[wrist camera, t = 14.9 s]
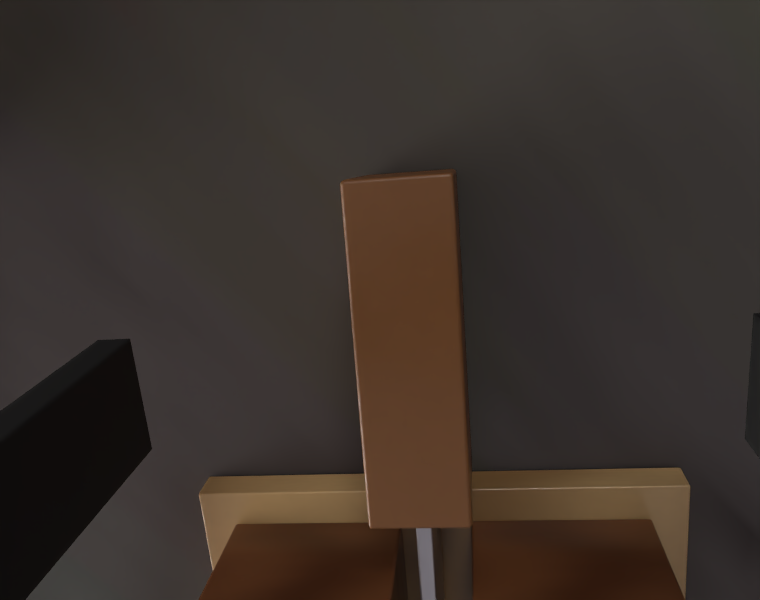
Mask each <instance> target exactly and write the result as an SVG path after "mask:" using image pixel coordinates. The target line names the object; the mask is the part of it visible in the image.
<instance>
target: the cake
mask: <svg viewBox="0 0 760 600" xmlns="http://www.w3.org/2000/svg"><path fill="white" fill-rule="evenodd" d="M199 498H200V503H201V509H202V514H203V519H204V525H205V530H206V536H207V541H208V547H209V552H210V558H211V563H212V569H213V572H212V574H211V576H210V578H209V580H208V582H207V584H206V586H205V588H204V590H203V592H202V594H201V596H200V598H199V600H421V593H420V579H419V565H418V551H417V536H416V528H402V529H371V528H370V527H369V525H368V514H367V502H366V490H365V478H364V474H321V475H270V476H219V477H209V478H208V480H207V482H206V483H205V485H204V487H203V488H202V490H201V491H200V493H199ZM689 506H690V485H689V483H688V481H687V479H686V477H685V475H684V474H683V472H682V470H681V468H628V469H577V470H526V471H475V472H472V516H473V524H472V526H471V527H470V528H440V531H441V547H442V562H443V578H444V594H445V600H685V595H686V573H687V550H688V528H689Z"/></svg>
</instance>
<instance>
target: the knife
mask: <svg viewBox="0 0 760 600" xmlns="http://www.w3.org/2000/svg"><path fill="white" fill-rule="evenodd" d="M340 190H341V202H342V214H343V226H344V238H345V250H346V262H347V274H348V286H349V298H350V310H351V322H352V334H353V346H354V358H355V370H356V382H357V394H358V406H359V418H360V430H361V442H362V454H363V466H364V478H365V490H366V502H367V514H368V525H369V527H370V528H371V529H402V528H416V536H417V551H418V565H419V579H420V593H421V600H445V594H444V578H443V562H442V547H441V531H440V528H470V527H471V526H472V524H473V516H472V454H471V436H470V417H469V398H468V380H467V361H466V342H465V324H464V305H463V287H462V268H461V249H460V231H459V212H458V193H457V175H456V171H455V170H454V169H444V170H430V171H417V172H403V173H389V174H376V175H366V176H361V177H356V178H351V179H346V180H343V181H341V183H340Z"/></svg>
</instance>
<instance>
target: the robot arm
mask: <svg viewBox="0 0 760 600" xmlns="http://www.w3.org/2000/svg"><path fill="white" fill-rule="evenodd" d="M745 439H746V440H747V442H748V443H749V445H750V446H751V447H752V449H753V450H754V451H755V453H756V454H757V456H758V457H759V458H760V313H756V314H754V315H753V329H752V344H751V358H750V373H749V388H748V402H747V417H746V431H745ZM151 449H152V447H151V442H150V437H149V432H148V427H147V422H146V417H145V412H144V407H143V402H142V397H141V392H140V387H139V382H138V377H137V372H136V367H135V362H134V357H133V352H132V347H131V342H130V339H115V340H98V341H96V342H95V343H93V344H92V345H91V346H89V347H88V348H87V349H85V350H84V351H82V352H81V353H80V354H78V355H77V356H76V357H74V358H73V359H71V360H70V361H69V362H67V363H66V364H65V365H63V366H62V367H60V368H59V369H58V370H56V371H55V372H54V373H52V374H51V375H49V376H48V377H47V378H45V379H44V380H43V381H41V382H40V383H38V384H37V385H36V386H34V387H33V388H32V389H30V390H29V391H27V392H26V393H25V394H23V395H22V396H21V397H19V398H18V399H16V400H15V401H14V402H12V403H11V404H10V405H8V406H7V407H5V408H4V409H3V410H1V411H0V600H25V599H26V598H27V597H28V596H29V594H30V593H31V592H32V591H33V590H34V589H35V587H36V586H37V585H38V584H39V583H40V581H41V580H42V579H43V578H44V577H45V575H46V574H47V573H48V572H49V571H50V570H51V568H52V567H53V566H54V565H55V564H56V562H57V561H58V560H59V559H60V558H61V556H62V555H63V554H64V553H65V552H66V551H67V549H68V548H69V547H70V546H71V545H72V543H73V542H74V541H75V540H76V539H77V537H78V536H79V535H80V534H81V533H82V531H83V530H84V529H85V528H86V527H87V526H88V524H89V523H90V522H91V521H92V520H93V518H94V517H95V516H96V515H97V514H98V512H99V511H100V510H101V509H102V508H103V507H104V505H105V504H106V503H107V502H108V501H109V499H110V498H111V497H112V496H113V495H114V493H115V492H116V491H117V490H118V489H119V488H120V486H121V485H122V484H123V483H124V482H125V480H126V479H127V478H128V477H129V476H130V474H131V473H132V472H133V471H134V470H135V468H136V467H137V466H138V465H139V464H140V463H141V461H142V460H143V459H144V458H145V457H146V455H147V454H148V453H149V452H150V451H151Z"/></svg>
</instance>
